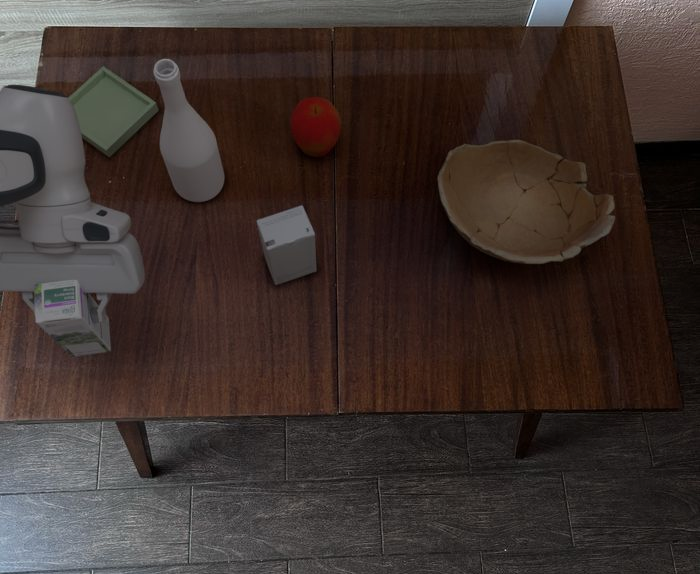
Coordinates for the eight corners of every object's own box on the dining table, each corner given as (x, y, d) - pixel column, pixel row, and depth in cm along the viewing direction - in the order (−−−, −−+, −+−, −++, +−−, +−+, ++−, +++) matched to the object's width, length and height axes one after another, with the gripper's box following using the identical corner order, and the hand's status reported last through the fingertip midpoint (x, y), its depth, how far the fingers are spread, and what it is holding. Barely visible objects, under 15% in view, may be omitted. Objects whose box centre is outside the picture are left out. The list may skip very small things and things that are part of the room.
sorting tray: (109, 157, 130) (105, 150, 127) (56, 119, 132) (52, 111, 130) (158, 110, 134) (156, 102, 131) (106, 74, 136) (103, 65, 134)
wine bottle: (166, 197, 127) (121, 84, 99) (184, 154, 130) (145, 34, 102) (215, 210, 127) (184, 101, 99) (232, 167, 130) (207, 49, 102)
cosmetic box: (306, 245, 125) (304, 201, 111) (317, 273, 124) (317, 233, 110) (262, 259, 124) (254, 217, 110) (273, 288, 122) (267, 249, 108)
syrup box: (109, 316, 104) (78, 275, 90) (112, 353, 102) (80, 316, 88) (70, 322, 103) (32, 281, 89) (72, 359, 101) (34, 323, 87)
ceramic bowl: (562, 134, 133) (593, 94, 118) (601, 268, 129) (638, 244, 115) (411, 164, 131) (424, 127, 116) (447, 302, 127) (464, 282, 112)
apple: (344, 163, 131) (347, 123, 120) (298, 171, 130) (296, 132, 119) (333, 122, 134) (334, 79, 123) (287, 131, 133) (284, 88, 122)
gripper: (-39, 225, 85) (-17, 329, 91) (130, 229, 86) (141, 331, 92) (-17, 212, 91) (3, 310, 97) (142, 216, 91) (152, 313, 97)
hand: (71, 320), depth 94 cm, fingers closed on syrup box, 6 cm apart
